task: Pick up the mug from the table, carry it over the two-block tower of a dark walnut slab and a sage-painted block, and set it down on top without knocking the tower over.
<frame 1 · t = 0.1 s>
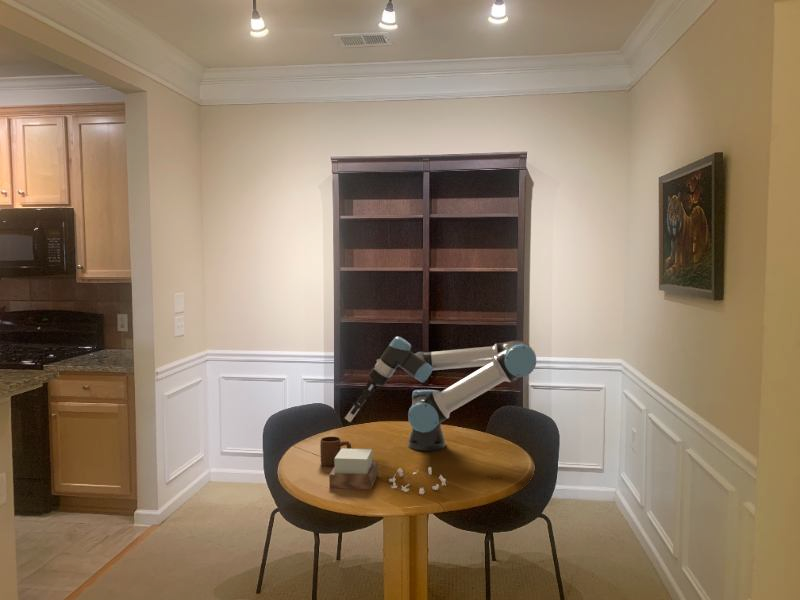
hand: (350, 415, 228), 15 cm above the table, tool tilted 35°, fingers open, 13 cm apart
game piece set: (418, 484, 197), on the table
base block: (354, 482, 200), on the table, touching top block
mug: (336, 464, 217), on the table
top block: (353, 468, 199), point 4 cm above the table, touching base block
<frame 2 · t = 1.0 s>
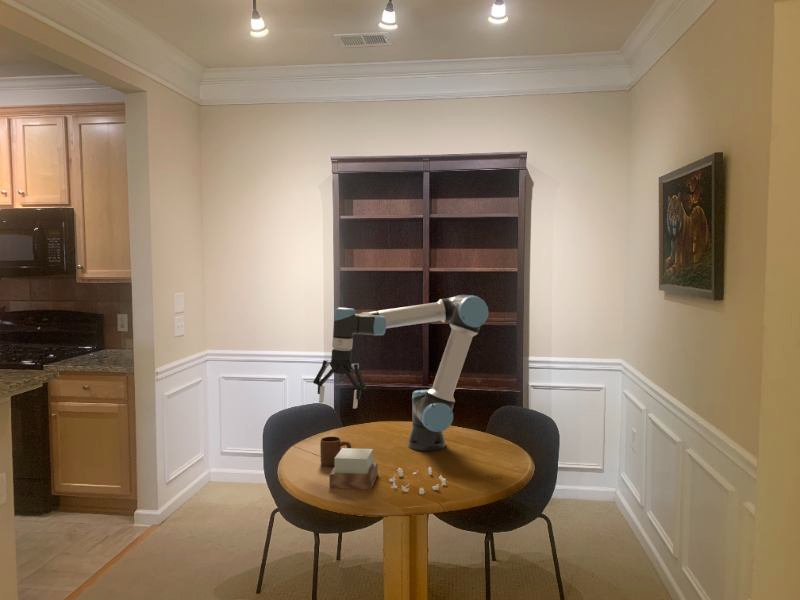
hand: (338, 405, 218), 22 cm above the table, tool pointing down, fingers open, 13 cm apart
nothing on the table moved.
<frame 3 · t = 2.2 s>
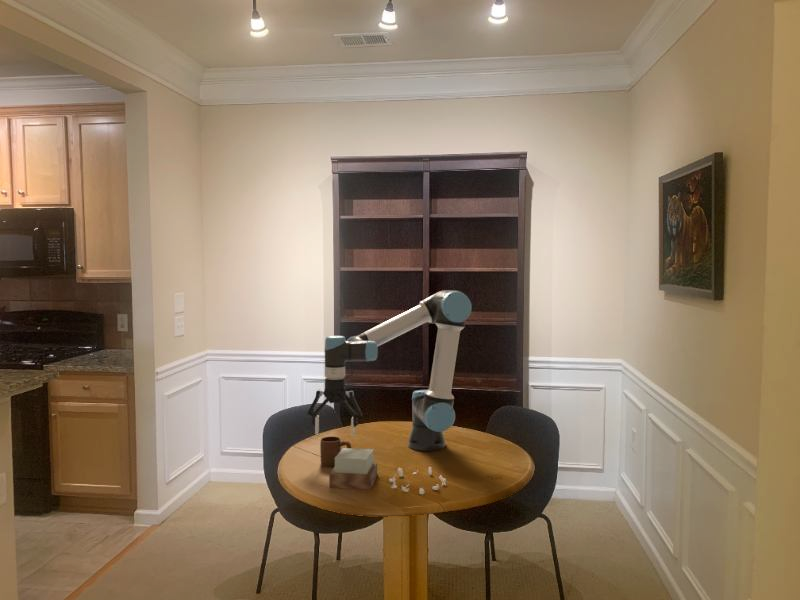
hand: (334, 434, 216), 11 cm above the table, tool pointing down, fingers open, 13 cm apart
nothing on the table moved.
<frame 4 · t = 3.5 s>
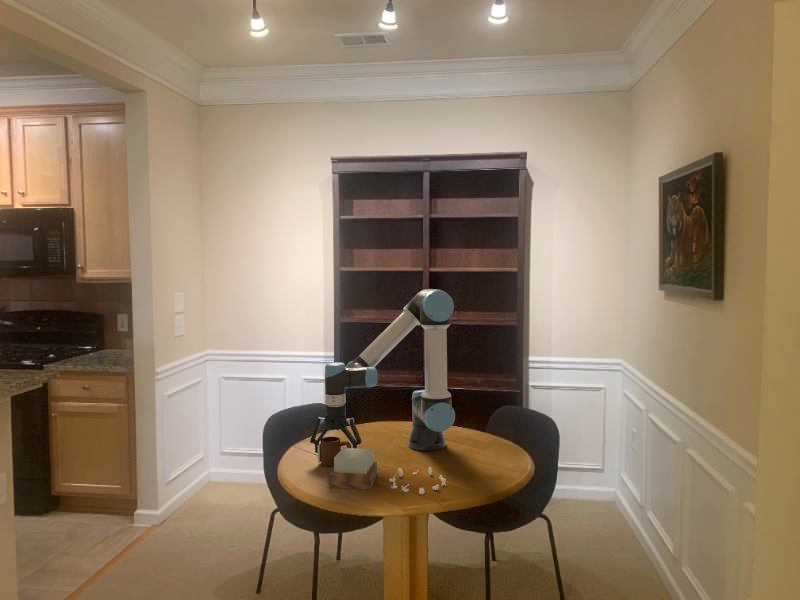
hand: (336, 462, 217), 1 cm above the table, tool pointing down, fingers closed on mug, 12 cm apart
base block: (354, 482, 200), on the table
mug: (336, 464, 217), on the table, touching gripper
top block: (354, 467, 200), point 4 cm above the table
everything else where it was.
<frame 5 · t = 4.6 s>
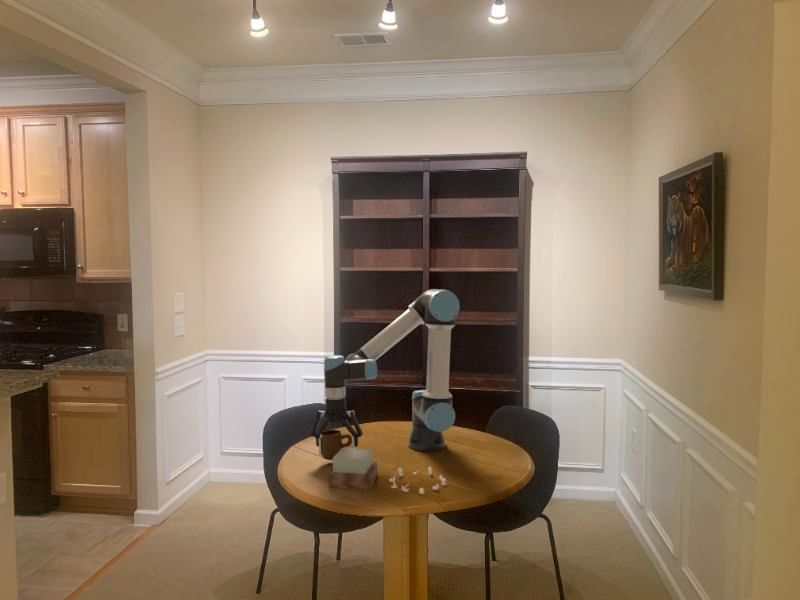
hand: (337, 454, 216), 4 cm above the table, tool pointing down, fingers closed on mug, 12 cm apart
base block: (354, 482, 200), on the table, touching top block
mug: (337, 457, 217), point 2 cm above the table, touching gripper
top block: (353, 467, 200), point 4 cm above the table, touching base block
everything else where it was.
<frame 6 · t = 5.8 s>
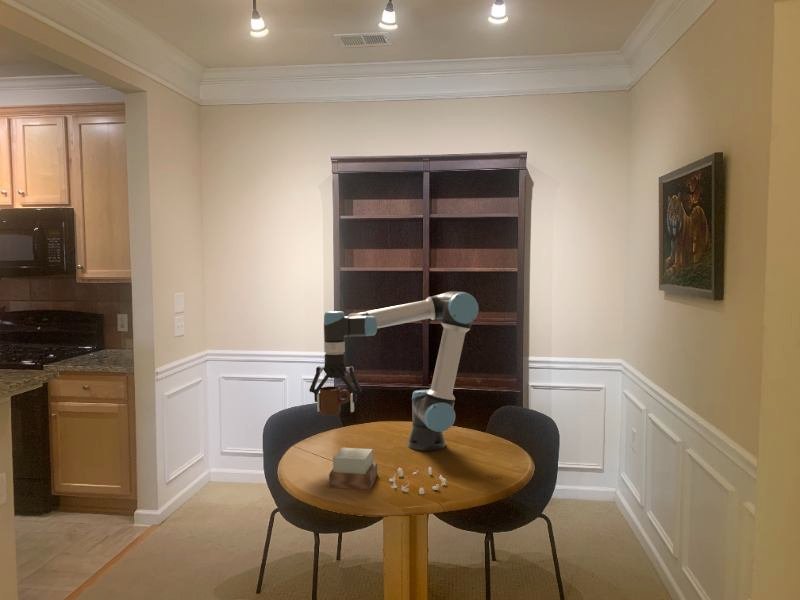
hand: (335, 411, 216), 20 cm above the table, tool pointing down, fingers closed on mug, 12 cm apart
base block: (354, 481, 200), on the table
mug: (335, 414, 216), point 19 cm above the table, touching gripper
top block: (353, 467, 199), point 5 cm above the table
everything else where it was.
when the fingers open (13 cm above the table, at t = 9.1 s): mug drops 2 cm, point 9 cm above the table.
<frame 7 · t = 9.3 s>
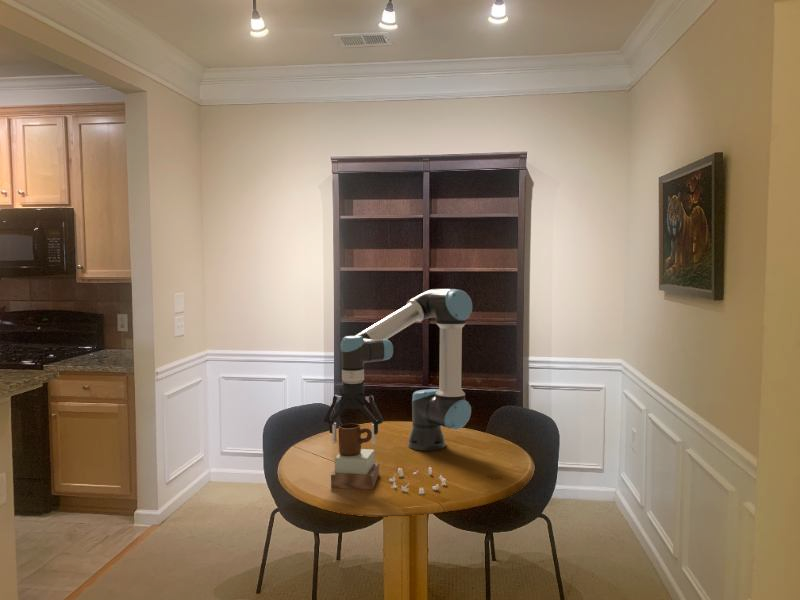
hand: (353, 443, 199), 13 cm above the table, tool pointing down, fingers open, 13 cm apart
base block: (355, 482, 200), on the table, touching top block
mug: (356, 454, 199), point 9 cm above the table, touching gripper
top block: (355, 468, 200), point 4 cm above the table, touching base block
everything else where it was.
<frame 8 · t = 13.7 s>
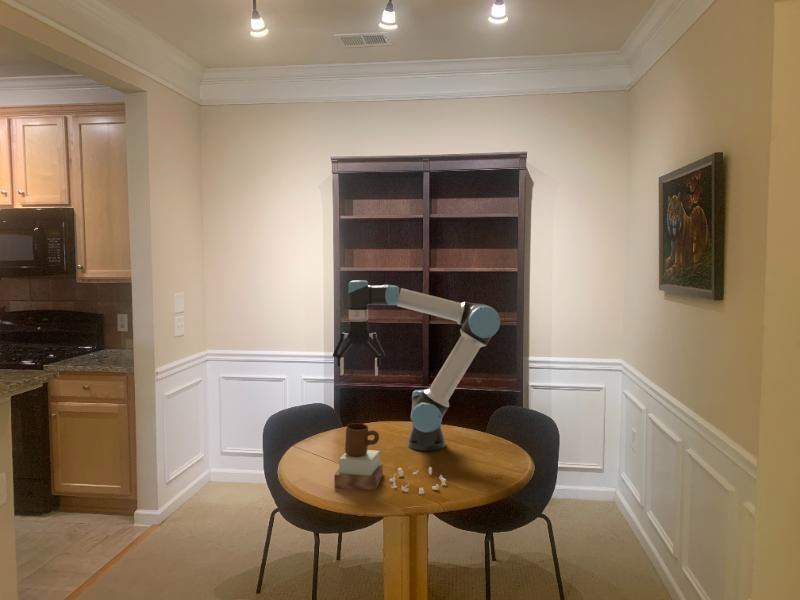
hand: (359, 375, 225), 32 cm above the table, tool pointing down, fingers open, 13 cm apart
base block: (359, 482, 199), on the table, touching top block
mug: (361, 454, 198), point 9 cm above the table, touching top block
top block: (359, 469, 199), point 4 cm above the table, touching base block, mug
everything else where it was.
at the end: mug inside the target area on the top block (0.7 cm from its centre), point 5.1 cm above the top block's base; top block 0.6 cm off-centre on the base block, point 5.0 cm above the base block's base; mug tilted 6° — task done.
